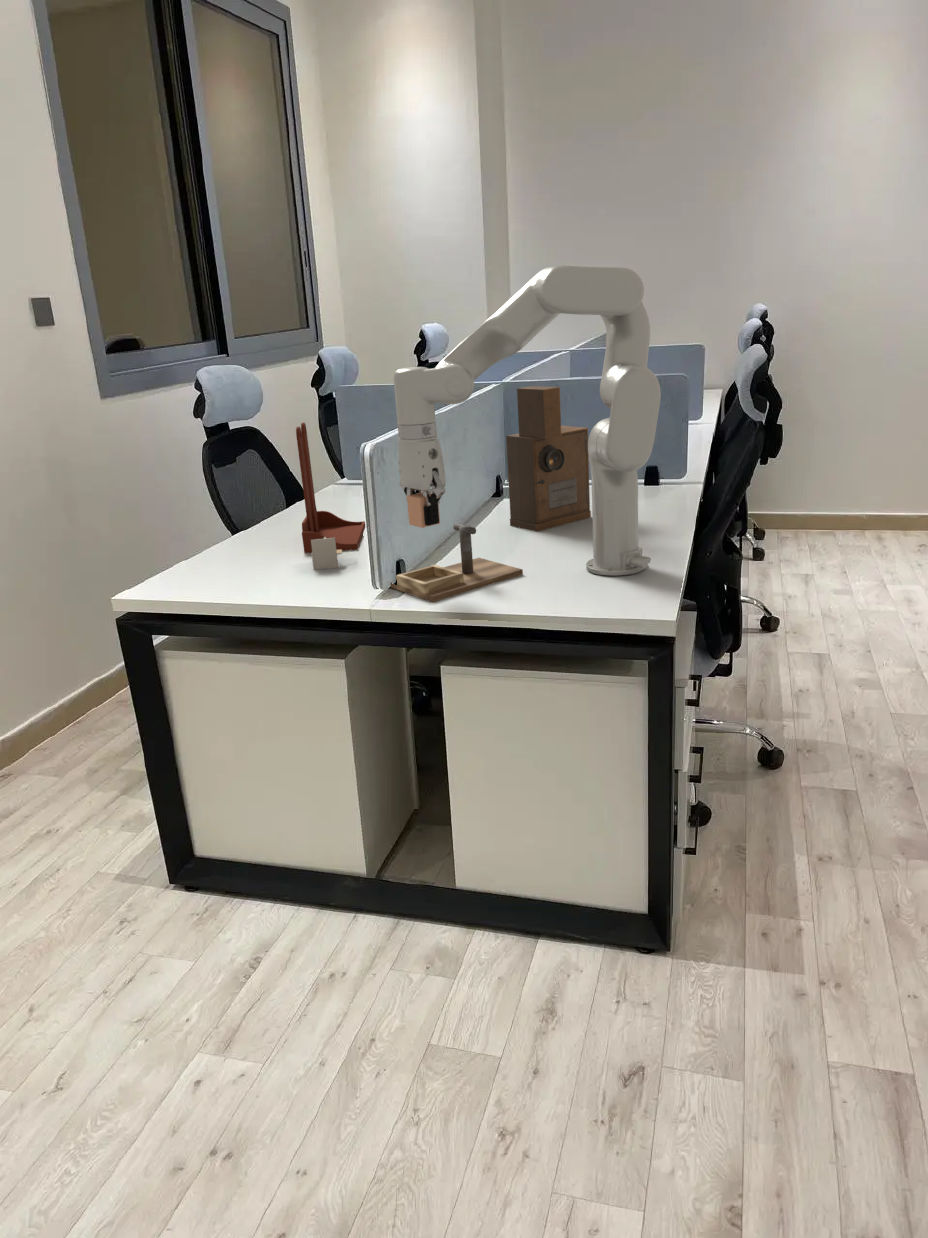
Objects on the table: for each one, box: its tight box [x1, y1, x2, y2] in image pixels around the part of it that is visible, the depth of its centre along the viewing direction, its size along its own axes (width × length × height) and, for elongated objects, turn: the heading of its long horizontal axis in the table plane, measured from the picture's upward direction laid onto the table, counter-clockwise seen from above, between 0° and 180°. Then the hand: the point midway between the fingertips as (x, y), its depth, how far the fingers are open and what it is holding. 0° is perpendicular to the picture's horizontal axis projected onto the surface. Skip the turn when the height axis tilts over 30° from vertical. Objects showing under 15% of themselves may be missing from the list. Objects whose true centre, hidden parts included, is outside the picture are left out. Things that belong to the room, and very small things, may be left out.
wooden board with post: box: [390, 523, 524, 603], centre depth 196 cm, size 15×24×12 cm, turn 128°
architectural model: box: [311, 537, 343, 570], centre depth 216 cm, size 3×7×7 cm, turn 99°
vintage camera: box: [505, 385, 592, 533], centre depth 236 cm, size 19×14×35 cm
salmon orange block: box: [406, 491, 441, 529], centre depth 189 cm, size 4×4×6 cm
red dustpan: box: [295, 422, 366, 554], centre depth 236 cm, size 24×13×30 cm, turn 1°
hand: (424, 521), depth 189 cm, fingers closed on salmon orange block, 4 cm apart
